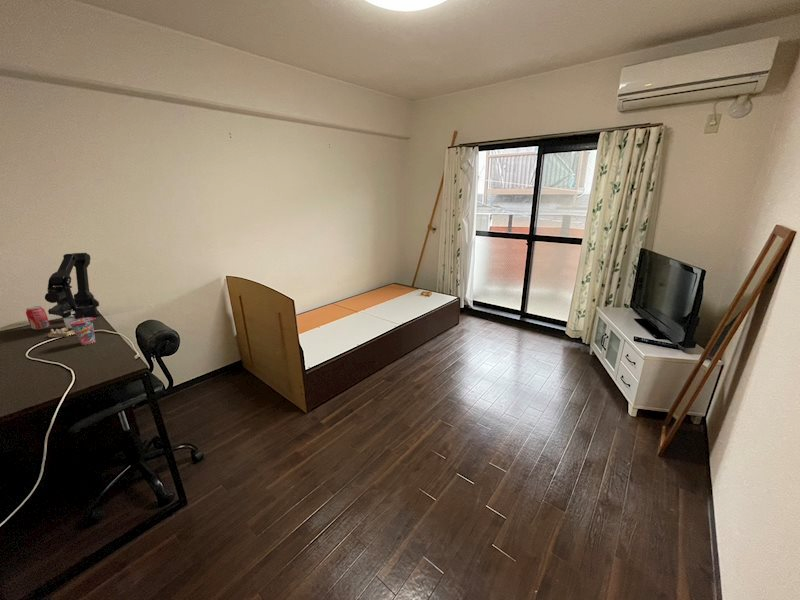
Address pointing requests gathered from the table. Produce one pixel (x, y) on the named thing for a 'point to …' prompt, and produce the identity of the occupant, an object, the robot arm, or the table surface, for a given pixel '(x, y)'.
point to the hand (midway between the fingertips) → (75, 324)
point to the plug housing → (68, 320)
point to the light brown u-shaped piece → (60, 332)
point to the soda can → (37, 317)
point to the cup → (84, 330)
